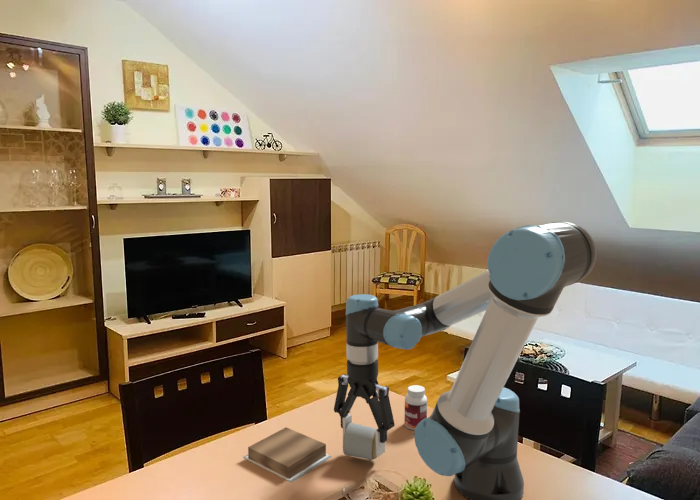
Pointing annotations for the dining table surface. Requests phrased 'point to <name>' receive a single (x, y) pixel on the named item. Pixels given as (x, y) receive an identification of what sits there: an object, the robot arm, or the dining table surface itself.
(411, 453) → the dining table surface
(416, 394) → the pill bottle
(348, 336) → the robot arm
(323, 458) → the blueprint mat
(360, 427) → the ceramic mug
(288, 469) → the walnut slab
